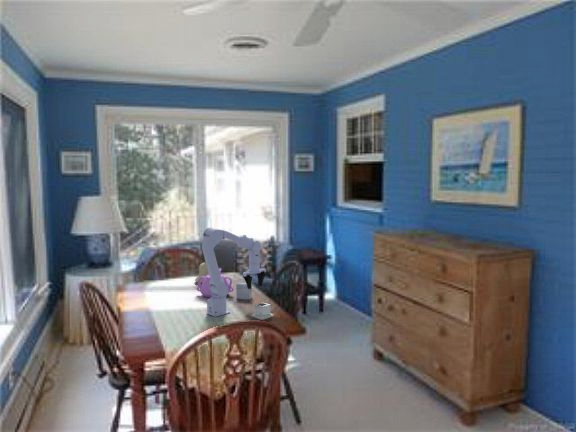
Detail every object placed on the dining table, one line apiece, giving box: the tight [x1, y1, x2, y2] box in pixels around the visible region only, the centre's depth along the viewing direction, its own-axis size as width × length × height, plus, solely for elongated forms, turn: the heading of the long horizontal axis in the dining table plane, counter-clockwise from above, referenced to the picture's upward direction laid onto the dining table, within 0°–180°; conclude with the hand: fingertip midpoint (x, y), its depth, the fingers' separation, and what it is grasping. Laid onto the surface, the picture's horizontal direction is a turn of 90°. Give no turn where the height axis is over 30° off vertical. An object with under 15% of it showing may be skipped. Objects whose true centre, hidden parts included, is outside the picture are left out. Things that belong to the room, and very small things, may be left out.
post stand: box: [250, 305, 275, 321], centre depth 233 cm, size 8×8×6 cm
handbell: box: [194, 256, 209, 284], centre depth 304 cm, size 15×15×25 cm
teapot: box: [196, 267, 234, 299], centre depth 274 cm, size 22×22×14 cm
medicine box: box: [235, 282, 253, 301], centre depth 265 cm, size 8×4×9 cm, turn 74°
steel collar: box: [254, 302, 272, 317], centre depth 233 cm, size 6×6×5 cm
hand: (254, 287), depth 251 cm, fingers open, 7 cm apart
